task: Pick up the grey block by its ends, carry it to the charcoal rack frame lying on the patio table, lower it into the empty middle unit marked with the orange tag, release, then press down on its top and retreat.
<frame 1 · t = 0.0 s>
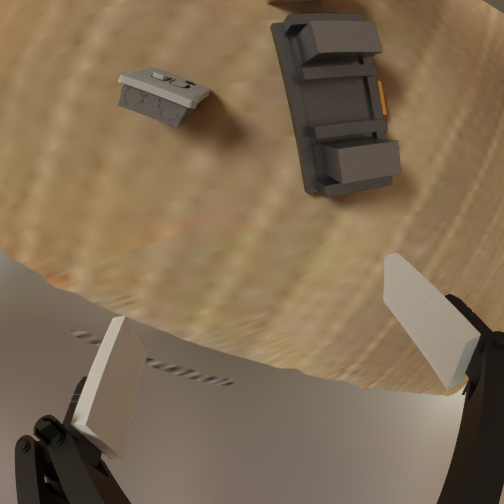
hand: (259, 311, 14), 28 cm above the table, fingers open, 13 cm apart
rack: (334, 101, 35), on the table
electrical switch: (172, 96, 33), on the table
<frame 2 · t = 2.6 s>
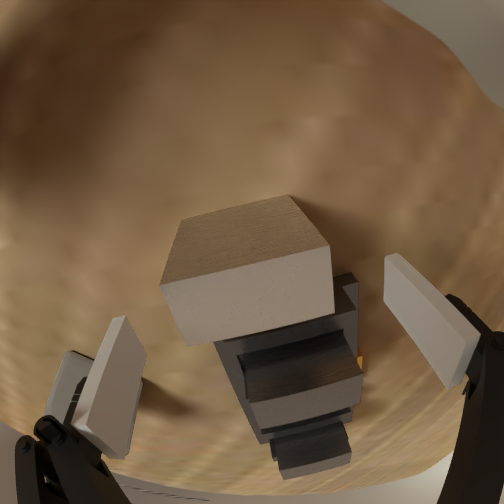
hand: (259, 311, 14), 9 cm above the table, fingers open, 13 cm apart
rack: (295, 377, 30), on the table
grey block: (240, 231, 22), on the table
electrical switch: (104, 376, 28), on the table
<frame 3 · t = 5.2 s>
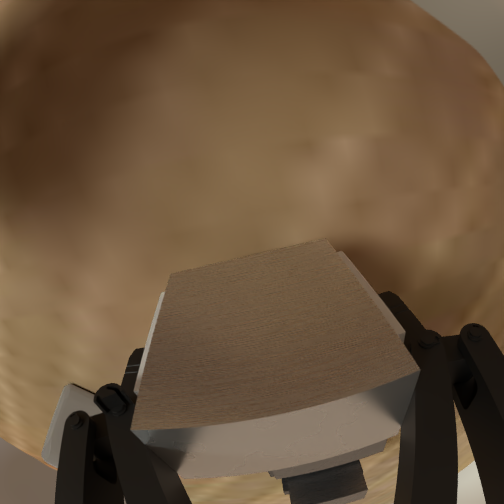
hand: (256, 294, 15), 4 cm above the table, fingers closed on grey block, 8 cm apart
rack: (312, 415, 26), on the table
grey block: (255, 289, 15), point 4 cm above the table, touching gripper
electrical switch: (107, 409, 25), on the table
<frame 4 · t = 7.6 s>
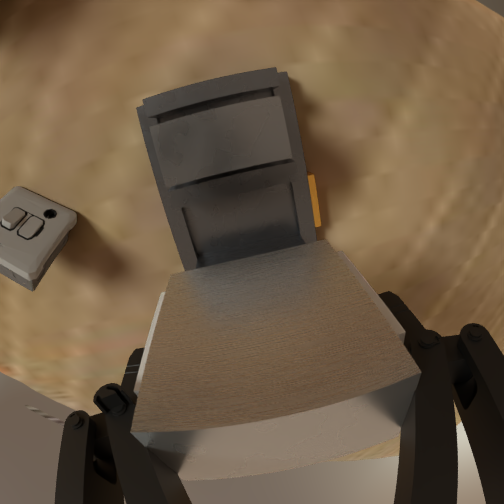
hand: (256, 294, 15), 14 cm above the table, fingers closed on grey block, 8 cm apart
rack: (240, 212, 28), on the table
grey block: (255, 290, 15), point 14 cm above the table, touching gripper
electrical switch: (45, 219, 26), on the table
when the fingers open (3 cm above the table, at t = 10.2 s): grey block drops 2 cm, resting on rack.
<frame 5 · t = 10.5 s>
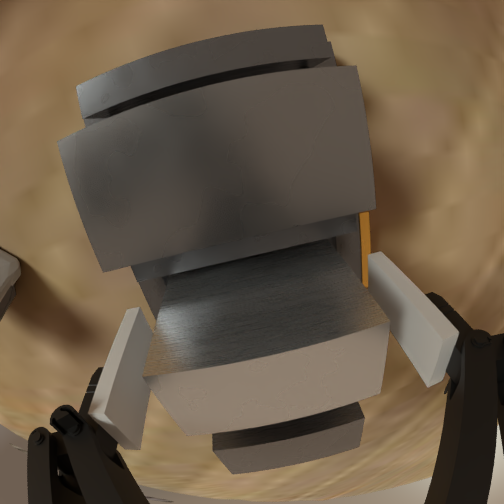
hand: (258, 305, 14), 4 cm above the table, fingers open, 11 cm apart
rack: (251, 265, 18), on the table
grey block: (252, 269, 17), point 1 cm above the table, touching rack
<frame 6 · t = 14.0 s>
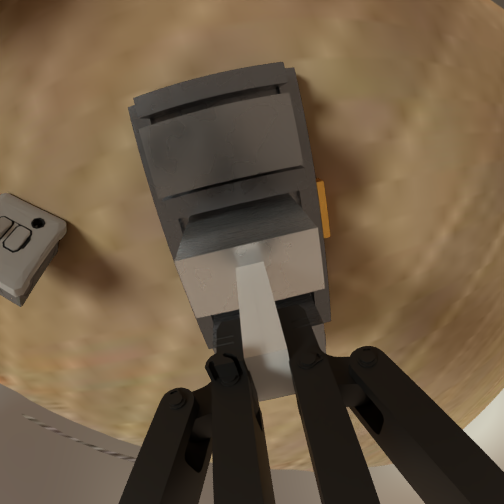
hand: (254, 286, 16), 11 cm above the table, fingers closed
rack: (242, 221, 25), on the table
grey block: (243, 223, 25), point 1 cm above the table, touching rack
electrical switch: (34, 228, 24), on the table
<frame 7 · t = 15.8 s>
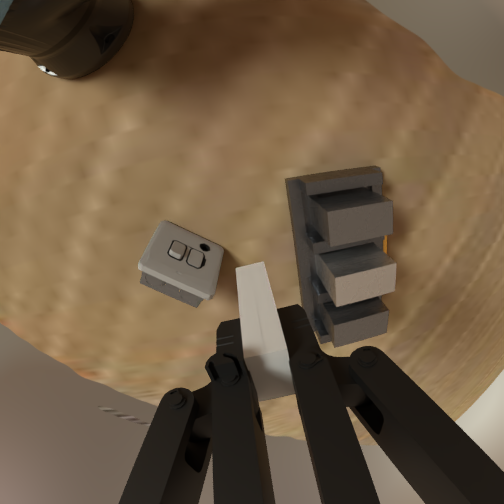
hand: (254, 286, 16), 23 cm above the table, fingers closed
rack: (339, 253, 41), on the table
grey block: (341, 254, 41), point 1 cm above the table, touching rack
electrical switch: (187, 249, 40), on the table
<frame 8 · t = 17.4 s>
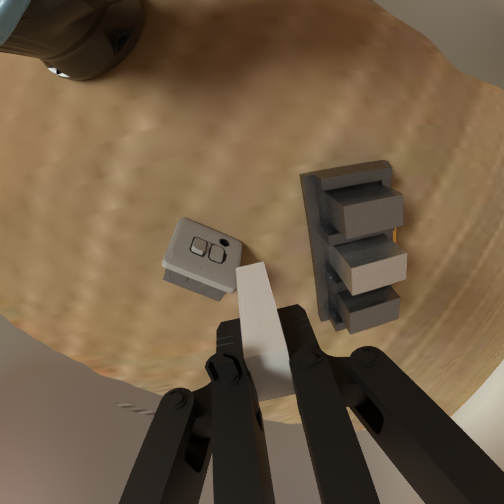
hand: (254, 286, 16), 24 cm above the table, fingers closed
rack: (351, 244, 43), on the table
grey block: (353, 245, 42), point 1 cm above the table, touching rack
electrical switch: (206, 245, 41), on the table
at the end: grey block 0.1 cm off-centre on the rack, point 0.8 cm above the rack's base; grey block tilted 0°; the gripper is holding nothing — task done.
